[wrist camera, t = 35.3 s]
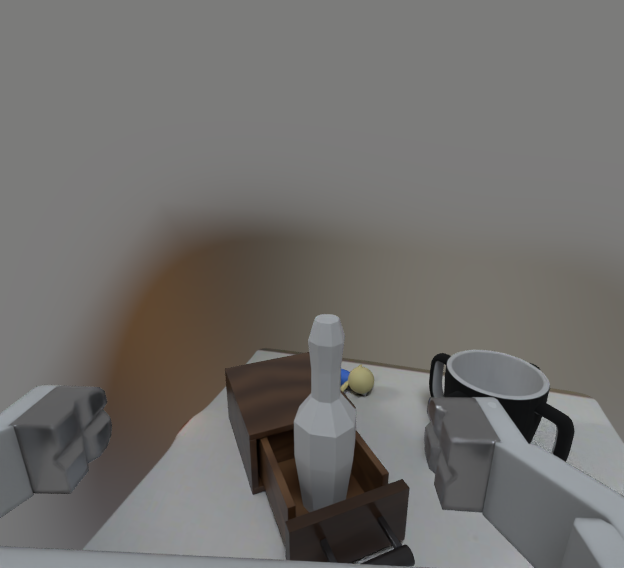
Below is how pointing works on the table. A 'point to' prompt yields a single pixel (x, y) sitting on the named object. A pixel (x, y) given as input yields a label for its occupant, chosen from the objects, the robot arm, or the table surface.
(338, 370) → the faceted bottle
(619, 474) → the table surface
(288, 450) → the drawer
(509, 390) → the mug
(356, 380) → the toy figure
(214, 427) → the table surface
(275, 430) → the cabinet
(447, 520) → the table surface
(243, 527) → the table surface
